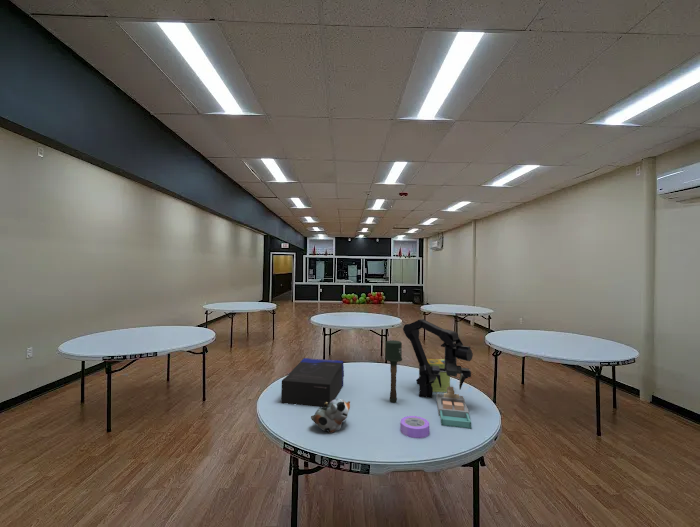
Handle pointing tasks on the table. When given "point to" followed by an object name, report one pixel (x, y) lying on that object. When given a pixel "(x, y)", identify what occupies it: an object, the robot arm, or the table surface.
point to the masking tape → (414, 427)
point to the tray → (455, 421)
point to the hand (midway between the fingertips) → (450, 388)
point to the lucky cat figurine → (331, 415)
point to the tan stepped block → (451, 396)
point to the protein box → (443, 376)
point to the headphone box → (313, 382)
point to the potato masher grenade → (393, 364)
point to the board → (452, 411)
